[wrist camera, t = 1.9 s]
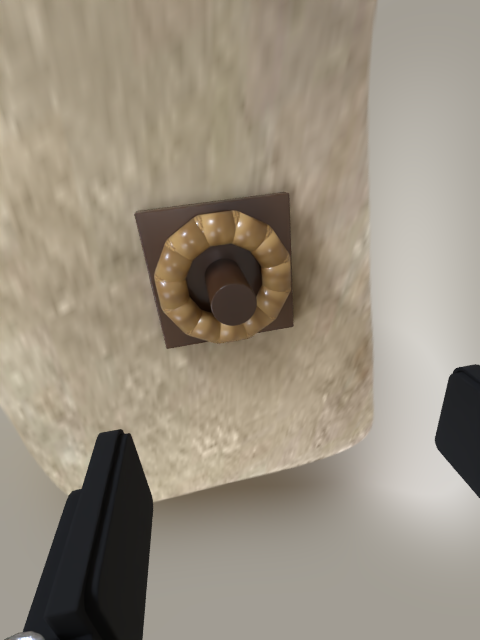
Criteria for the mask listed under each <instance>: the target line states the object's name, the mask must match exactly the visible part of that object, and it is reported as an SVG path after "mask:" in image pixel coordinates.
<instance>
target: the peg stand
mask: <svg viewBox="0 0 480 640" xmlns="http://www.w3.org/2000/svg"><path fill="white" fill-rule="evenodd" d="M231 210H235V211H239V212H241V213H243V214H246V215H248V216H250V217H252V218H255V219H257V220H259V221H261V222H264V223H266V224H268V225H269V226H270V227H271V228H272V229H273V230H274V232H275V233H276V235H277V236H278V238H279V239H280V241H281V242H282V244H283V245H284V247H285V248H286V250H287V251H288V253H289V256H290V266H291V291H290V293H289V295H288V297H287V299H286V301H285V303H284V305H283V307H282V309H281V311H280V313H279V314H278V316H277V318H276V319H275V320H274V321H273V322H272V323H270V324H269V325H267V326H266V327H265V328H263V329H262V330H260V331H259V332H258V333H260V332H266V331H271V330H277V329H283V328H289V327H293V326H294V325H293V295H292V265H291V234H290V204H289V193H287V192H280V193H273V194H265V195H258V196H250V197H242V198H235V199H227V200H220V201H212V202H204V203H197V204H189V205H182V206H174V207H167V208H159V209H151V210H144V211H137V212H136V213H135V219H136V223H137V227H138V231H139V236H140V240H141V244H142V248H143V252H144V256H145V261H146V265H147V269H148V273H149V277H150V281H151V286H152V290H153V294H154V298H155V302H156V306H157V311H158V315H159V319H160V323H161V327H162V331H163V336H164V340H165V344H166V348H167V349H169V348H174V347H180V346H186V345H192V344H197V343H203V342H209V341H206V340H202V339H199V338H196V337H192V336H189V335H187V334H185V333H184V332H183V331H182V330H181V329H180V328H179V327H178V326H177V325H176V324H175V323H174V322H173V321H172V320H171V319H170V318H169V317H168V316H167V315H166V314H165V313H164V312H163V310H162V308H161V305H160V301H159V296H158V292H157V288H156V284H155V279H154V273H155V270H156V267H157V264H158V261H159V259H160V256H161V253H162V250H163V247H164V244H165V242H166V240H167V239H168V238H169V237H170V236H171V235H173V234H174V233H175V232H176V231H178V230H179V229H180V228H181V227H182V226H184V225H185V224H186V223H187V222H189V221H190V220H191V219H192V218H194V217H195V216H197V215H202V214H209V213H216V212H224V211H231ZM186 281H187V287H188V292H189V297H190V298H191V299H192V300H193V301H194V302H195V303H196V304H197V305H198V306H199V308H200V309H201V310H204V311H207V312H210V313H213V315H214V317H215V318H216V319H217V320H218V321H219V322H220V323H222V324H225V325H229V326H236V325H240V324H243V323H245V322H246V321H248V320H249V319H250V318H251V317H252V316H253V314H254V312H255V310H256V306H257V300H256V296H257V294H258V292H259V290H260V288H261V286H262V274H261V266H260V264H259V263H258V261H257V260H256V259H255V257H254V256H253V255H252V253H251V252H250V251H248V250H246V249H243V248H241V247H238V246H236V245H234V244H225V245H219V246H212V247H209V248H208V249H207V250H205V251H204V252H203V253H201V254H200V255H199V256H198V257H196V258H195V259H194V260H193V262H192V264H191V267H190V269H189V272H188V275H187V277H186Z"/></svg>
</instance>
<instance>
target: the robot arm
mask: <svg viewBox="0 0 480 640" xmlns="http://www.w3.org/2000/svg"><path fill="white" fill-rule="evenodd" d="M435 443H436V446H437V448H438V450H439V451H440V452H441V454H442V455H443V456H444V457H445V458H446V460H447V461H448V462H449V463H450V464H451V465H452V466H453V468H454V469H455V470H456V471H457V472H458V474H459V475H460V476H461V477H462V478H463V479H464V481H465V482H466V483H467V484H468V485H469V486H470V487H471V489H472V490H473V491H474V492H475V493H476V494H477V496H478V497H479V498H480V365H476V364H475V365H470V366H464V367H459V368H456V369H455V370H454V371H453V374H451V375H450V377H449V380H448V384H447V389H446V393H445V397H444V402H443V406H442V410H441V415H440V419H439V423H438V427H437V432H436V436H435ZM152 517H153V499H152V495H151V492H150V489H149V486H148V483H147V480H146V477H145V474H144V471H143V468H142V465H141V462H140V459H139V456H138V454H137V451H136V448H135V445H134V442H133V439H132V436H131V434H130V433H128V434H124V432H123V430H122V429H119V430H114V431H108V432H103V433H100V434H99V435H98V437H97V440H96V443H95V446H94V450H93V453H92V456H91V460H90V463H89V466H88V470H87V473H86V476H85V480H84V483H83V486H82V489H79V490H75V491H72V492H71V494H70V495H69V496H68V499H67V501H66V504H65V507H64V510H63V513H62V516H61V519H60V522H59V525H58V528H57V531H56V534H55V537H54V540H53V543H52V546H51V549H50V552H49V555H48V558H47V561H46V564H45V567H44V570H43V573H42V576H41V579H40V582H39V585H38V587H37V591H36V594H35V597H34V600H33V603H32V605H31V609H30V611H29V614H28V617H27V621H26V623H25V627H24V629H23V632H21V633H17V634H15V635H13V636H11V637H9V638H7V639H5V640H142V638H143V625H144V613H145V600H146V589H147V577H148V565H149V553H150V541H151V529H152Z"/></svg>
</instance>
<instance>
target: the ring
mask: <svg viewBox="0 0 480 640" xmlns="http://www.w3.org/2000/svg"><path fill="white" fill-rule="evenodd" d="M225 244H234V245H236V246H238V247H241V248H243V249H246V250H248V251H250V252H251V253H252V255H253V256H254V257H255V259H256V260H257V261H258V263H259V264H260V266H261V274H262V286H261V288H260V290H259V292H258V294H257V296H256V300H257V306H256V310H255V312H254V314H253V316H252V317H251V318H250V319H249V320H248V321H246V322H245V323H243V324H240V325H236V326H229V325H225V324H222V323H220V322H219V321H218V320H217V319H216V318H215V317H214V315H213V313H210V312H207V311H204V310H201V309H200V308H199V306H198V305H197V304H196V303H195V302H194V301H193V300H192V299H191V298H190V297H189V292H188V287H187V281H186V277H187V275H188V272H189V269H190V267H191V264H192V262H193V260H194V259H195V258H196V257H198V256H199V255H200V254H201V253H203V252H204V251H205V250H207V249H208V248H209V247H212V246H219V245H225ZM154 279H155V284H156V288H157V292H158V296H159V301H160V305H161V308H162V310H163V312H164V313H165V314H166V315H167V316H168V317H169V318H170V319H171V320H172V321H173V322H174V323H175V324H176V325H177V326H178V327H179V328H180V329H181V330H182V331H183V332H184V333H185V334H187V335H189V336H192V337H196V338H199V339H202V340H206V341H209V342H212V343H217V344H220V343H226V342H232V341H237V340H243V339H248V338H250V337H252V336H253V335H255V334H256V333H258V332H259V331H260V330H262V329H263V328H265V327H266V326H267V325H269V324H270V323H272V322H273V321H274V320H275V319H276V318H277V316H278V314H279V313H280V311H281V309H282V307H283V305H284V303H285V301H286V299H287V297H288V295H289V293H290V291H291V266H290V256H289V253H288V251H287V250H286V248H285V247H284V245H283V244H282V242H281V241H280V239H279V238H278V236H277V235H276V233H275V232H274V230H273V229H272V228H271V227H270V226H269V225H268V224H266V223H264V222H261V221H259V220H257V219H255V218H252V217H250V216H248V215H246V214H243V213H241V212H239V211H235V210H231V211H224V212H216V213H209V214H202V215H197V216H195V217H194V218H192V219H191V220H190V221H189V222H187V223H186V224H185V225H184V226H182V227H181V228H180V229H179V230H178V231H176V232H175V233H174V234H173V235H171V236H170V237H169V238H168V239H167V240H166V242H165V244H164V247H163V250H162V253H161V256H160V259H159V261H158V264H157V267H156V270H155V273H154Z"/></svg>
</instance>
